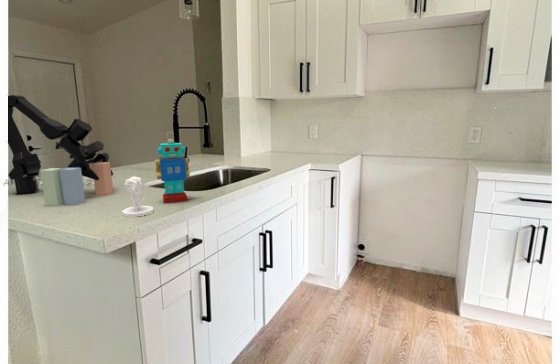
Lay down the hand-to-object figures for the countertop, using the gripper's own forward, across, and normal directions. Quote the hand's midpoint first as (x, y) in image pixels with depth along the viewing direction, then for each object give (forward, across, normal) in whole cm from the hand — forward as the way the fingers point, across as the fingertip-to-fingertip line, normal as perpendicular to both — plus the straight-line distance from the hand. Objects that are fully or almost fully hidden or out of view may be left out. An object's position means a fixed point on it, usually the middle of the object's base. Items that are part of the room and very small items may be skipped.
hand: (105, 177), depth 128 cm
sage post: (-2, -15, +12) cm, 19 cm away
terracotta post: (+4, 0, +6) cm, 7 cm away
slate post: (+2, -13, +8) cm, 16 cm away
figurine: (+23, -23, -12) cm, 35 cm away
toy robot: (+27, -7, -17) cm, 32 cm away
